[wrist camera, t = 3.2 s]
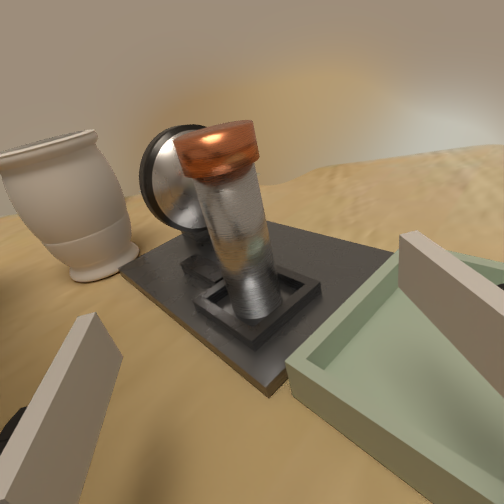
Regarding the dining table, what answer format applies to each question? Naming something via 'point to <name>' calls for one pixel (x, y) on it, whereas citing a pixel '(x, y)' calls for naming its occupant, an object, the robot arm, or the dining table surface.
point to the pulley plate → (212, 283)
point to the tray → (406, 391)
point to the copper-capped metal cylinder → (233, 212)
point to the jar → (71, 203)
